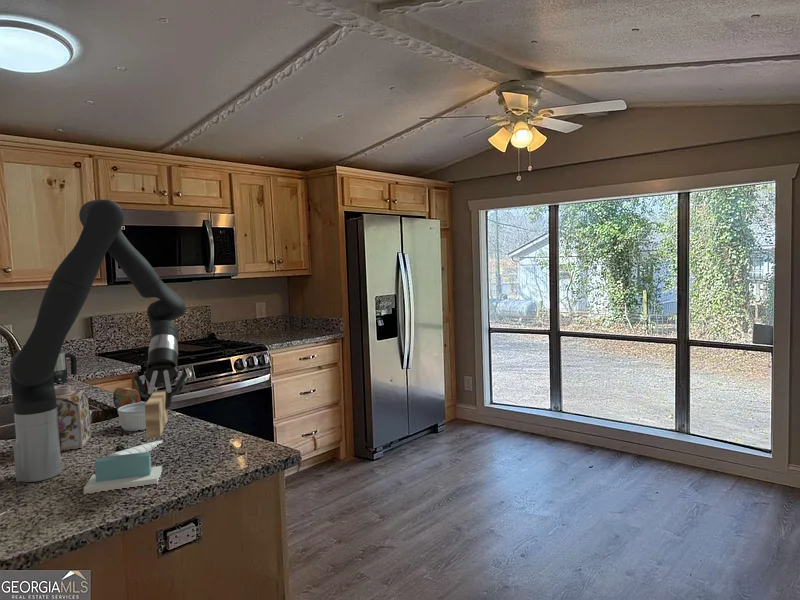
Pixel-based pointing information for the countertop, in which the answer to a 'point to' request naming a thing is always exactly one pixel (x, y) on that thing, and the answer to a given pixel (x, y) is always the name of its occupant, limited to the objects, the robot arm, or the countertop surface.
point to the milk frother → (64, 367)
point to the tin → (125, 397)
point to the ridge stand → (122, 472)
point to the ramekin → (133, 416)
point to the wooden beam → (156, 414)
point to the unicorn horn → (138, 449)
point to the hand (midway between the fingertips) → (159, 408)
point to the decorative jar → (72, 417)
